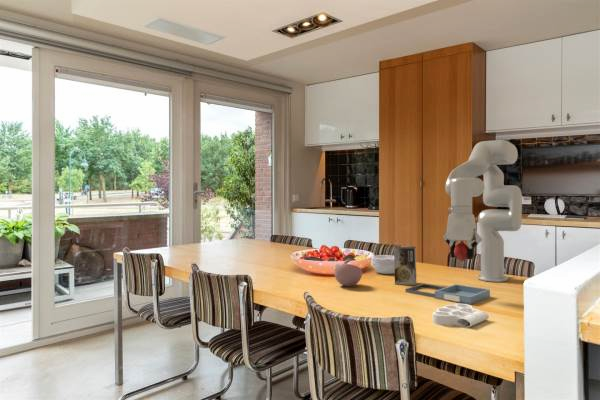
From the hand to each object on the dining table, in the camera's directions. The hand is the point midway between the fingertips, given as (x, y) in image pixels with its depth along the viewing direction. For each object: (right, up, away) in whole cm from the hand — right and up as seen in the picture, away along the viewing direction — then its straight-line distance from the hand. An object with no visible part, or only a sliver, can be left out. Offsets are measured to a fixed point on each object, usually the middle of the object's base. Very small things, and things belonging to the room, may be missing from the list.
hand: (461, 257), depth 167 cm
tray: (0, -15, 0) cm, 15 cm away
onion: (0, -2, 0) cm, 2 cm away
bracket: (-9, -15, +11) cm, 21 cm away
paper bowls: (-18, -15, +53) cm, 58 cm away
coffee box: (-15, -15, +27) cm, 35 cm away
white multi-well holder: (-11, -17, -27) cm, 34 cm away
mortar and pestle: (-41, -16, +24) cm, 50 cm away
